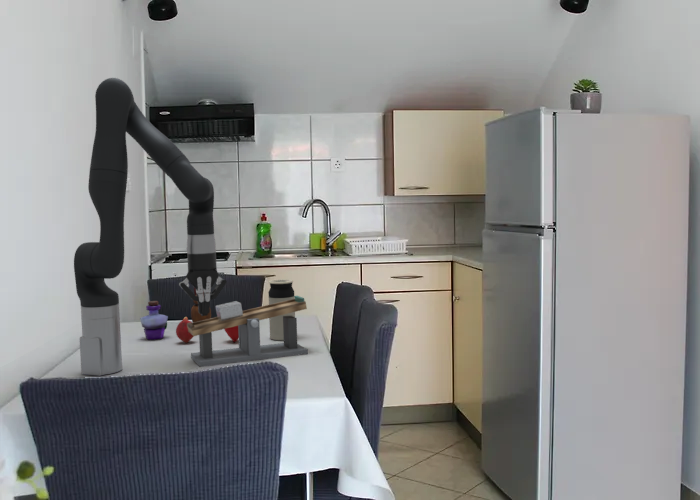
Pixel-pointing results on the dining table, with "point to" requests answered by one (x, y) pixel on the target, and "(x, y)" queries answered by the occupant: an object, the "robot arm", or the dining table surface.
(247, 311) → the beam
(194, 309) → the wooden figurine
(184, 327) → the pomegranate
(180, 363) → the dining table surface
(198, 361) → the pivot stand
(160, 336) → the potion bottle
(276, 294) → the travel mug
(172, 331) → the dining table surface
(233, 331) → the strawberry
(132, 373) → the dining table surface
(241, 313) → the block
